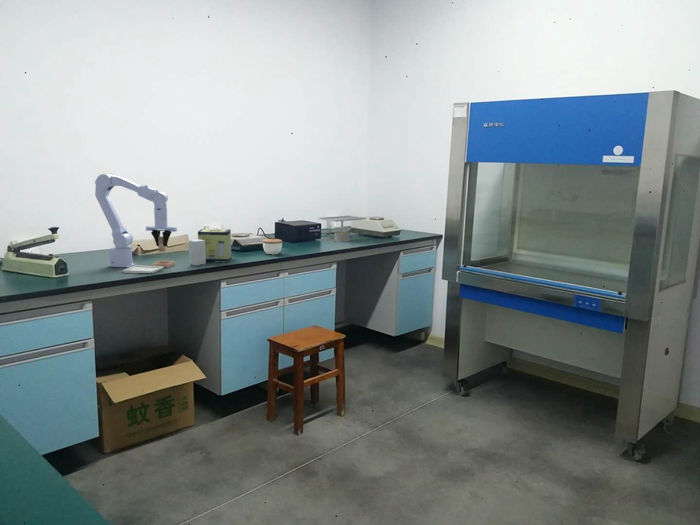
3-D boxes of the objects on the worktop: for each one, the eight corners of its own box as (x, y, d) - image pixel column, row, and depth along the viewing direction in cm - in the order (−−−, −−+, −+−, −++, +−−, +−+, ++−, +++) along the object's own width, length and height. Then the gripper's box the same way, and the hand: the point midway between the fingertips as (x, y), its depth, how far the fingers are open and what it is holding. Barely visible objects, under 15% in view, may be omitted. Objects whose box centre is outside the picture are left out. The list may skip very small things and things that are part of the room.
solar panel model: (347, 237, 384) (348, 215, 381) (365, 240, 372) (366, 217, 369) (317, 240, 365) (317, 217, 362) (334, 243, 353) (335, 220, 350)
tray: (122, 272, 253) (122, 270, 253) (135, 267, 265) (135, 265, 264) (152, 274, 251) (152, 271, 251) (163, 269, 263) (163, 266, 263)
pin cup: (153, 267, 267) (153, 263, 267) (160, 264, 274) (159, 260, 274) (168, 267, 266) (168, 264, 266) (174, 264, 274) (174, 261, 273)
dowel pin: (157, 251, 267) (157, 236, 266) (160, 250, 270) (159, 236, 269) (163, 251, 267) (163, 237, 265) (166, 250, 270) (165, 236, 268)
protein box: (201, 258, 293) (200, 228, 291) (231, 258, 295) (231, 229, 292) (198, 261, 283) (197, 231, 280) (229, 262, 285) (228, 231, 282)
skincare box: (200, 262, 280) (200, 239, 278) (206, 264, 278) (205, 240, 276) (190, 264, 276) (189, 240, 274) (195, 265, 273) (195, 241, 271)
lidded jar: (259, 253, 312) (258, 236, 310) (275, 251, 318) (275, 235, 317) (269, 256, 304) (269, 239, 302) (285, 254, 311) (286, 237, 309)
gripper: (142, 218, 262) (143, 246, 265) (172, 219, 261) (173, 247, 263) (149, 216, 269) (150, 244, 271) (178, 217, 268) (179, 245, 270)
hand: (161, 246), depth 268 cm, fingers closed on dowel pin, 3 cm apart
